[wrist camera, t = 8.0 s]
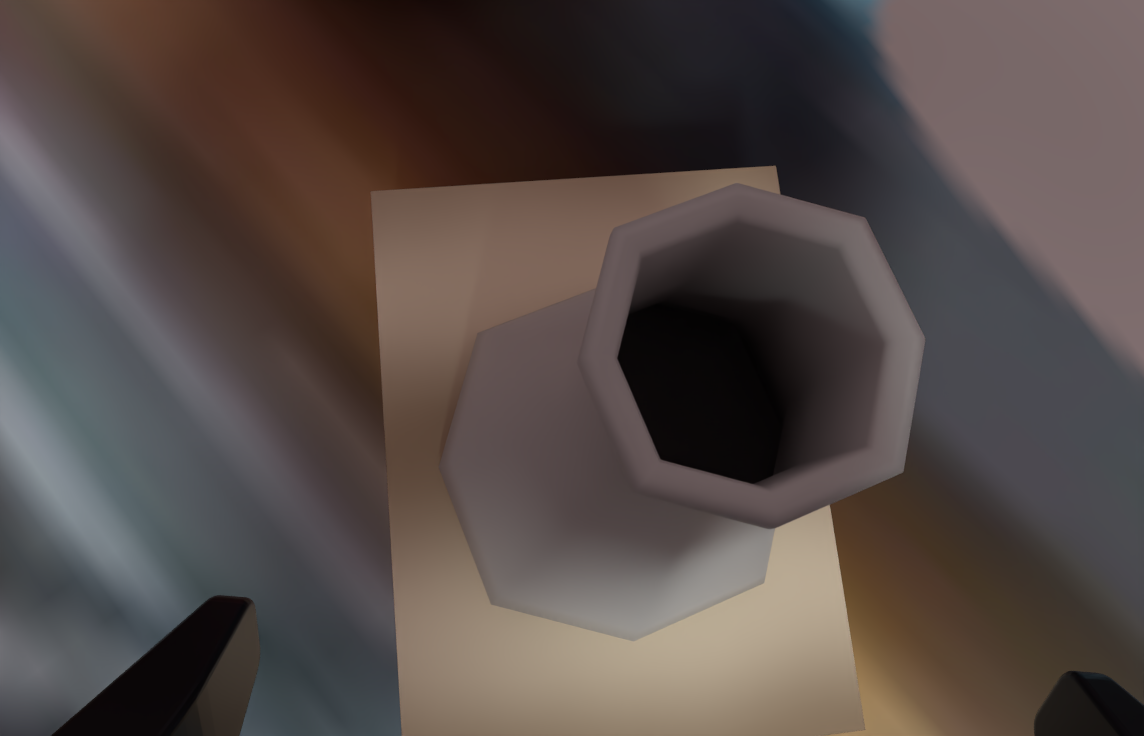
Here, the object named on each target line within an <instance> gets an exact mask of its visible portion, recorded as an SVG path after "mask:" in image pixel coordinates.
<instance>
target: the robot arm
mask: <svg viewBox="0 0 1144 736" xmlns="http://www.w3.org/2000/svg"><path fill="white" fill-rule="evenodd" d="M259 660H260V643H259V634H258V626H257V617H256V609H255V605H254V603H253V601H252V600H251V599H249V598H246V597H235V596H224V595H217V596H214V597H211V598H210V599H208V600H207V601H205V602H204V603H203V604H202V605H201V606H200V607H199V608H197V609H196V610H195V611H194V612H193V613H192V614H191V615H189V616H188V617H187V618H186V619H185V620H184V621H182V622H181V623H180V624H179V625H178V626H177V627H176V628H174V629H173V630H172V631H171V632H170V633H169V634H167V635H166V636H165V637H164V638H163V639H162V640H161V641H159V642H158V643H157V644H156V645H155V646H154V647H153V648H151V649H150V650H149V651H148V652H147V653H146V654H144V655H143V656H142V657H141V658H140V659H139V660H138V661H136V662H135V663H134V664H133V665H132V666H131V667H129V668H128V669H127V670H126V671H125V672H124V673H123V674H121V675H120V676H119V677H118V678H117V679H116V680H115V681H113V682H112V683H111V684H110V685H109V686H108V687H106V688H105V689H104V690H103V691H102V692H101V693H100V694H98V695H97V696H96V697H95V698H94V699H93V700H92V701H90V702H89V703H88V704H87V705H86V706H85V707H83V708H82V709H81V710H80V711H79V712H78V713H77V714H75V715H74V716H73V717H72V718H71V719H70V720H68V721H67V722H66V723H65V724H64V725H63V726H62V727H60V728H59V729H58V730H57V731H56V732H55V733H54V734H52V735H51V736H239V735H240V731H241V728H242V724H243V720H244V717H245V713H246V710H247V706H248V703H249V699H250V696H251V692H252V688H253V685H254V681H255V678H256V674H257V670H258V666H259ZM1034 734H1035V736H1144V705H1143V704H1142V703H1141V702H1139V701H1138V700H1137V699H1136V698H1135V697H1133V696H1132V695H1131V694H1130V693H1128V692H1127V691H1126V690H1125V689H1124V688H1122V687H1121V686H1120V685H1119V684H1118V683H1116V682H1115V681H1114V680H1112V679H1111V678H1110V677H1108V676H1106V675H1103V674H1099V673H1091V672H1080V671H1068V672H1066V673H1064V674H1063V675H1062V676H1061V677H1060V678H1059V680H1058V681H1057V683H1056V684H1055V686H1054V687H1053V689H1052V690H1051V692H1050V693H1049V695H1048V696H1047V698H1046V699H1045V701H1044V702H1043V704H1042V705H1041V707H1040V708H1039V710H1038V712H1037V714H1036V716H1035V720H1034Z"/></svg>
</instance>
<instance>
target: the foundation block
mask: <svg viewBox="0 0 1144 736" xmlns="http://www.w3.org/2000/svg"><path fill="white" fill-rule="evenodd" d="M734 183H740V184H743V185H747V186H751V187H754V188H758V189H762V190H765V191H769V192H773V193H776V194H780V189H779V183H778V176H777V170H776V166H764V167H748V168H732V169H716V170H700V171H684V172H668V173H653V174H637V175H621V176H605V177H589V178H573V179H557V180H541V181H525V182H509V183H493V184H477V185H461V186H445V187H430V188H414V189H398V190H382V191H371V205H372V222H373V240H374V257H375V275H376V292H377V310H378V327H379V345H380V362H381V380H382V397H383V415H384V432H385V450H386V467H387V485H388V502H389V520H390V537H391V555H392V572H393V590H394V608H395V625H396V643H397V660H398V678H399V695H400V713H401V730H402V736H823V735H831V734H839V733H846V732H854V731H862V730H865V724H864V718H863V712H862V705H861V699H860V693H859V686H858V680H857V674H856V668H855V661H854V655H853V649H852V642H851V636H850V630H849V623H848V617H847V611H846V605H845V598H844V592H843V586H842V579H841V573H840V567H839V560H838V554H837V548H836V542H835V535H834V529H833V523H832V516H831V510H830V505H827V506H825V507H823V508H821V509H818V510H816V511H814V512H812V513H809V514H807V515H805V516H802V517H800V518H798V519H796V520H793V521H791V522H789V523H786V524H784V525H782V526H780V527H777V528H775V531H774V536H773V541H772V546H771V551H770V556H769V561H768V567H767V572H766V577H765V582H764V583H763V584H761V585H759V586H756V587H754V588H752V589H750V590H747V591H745V592H743V593H741V594H739V595H736V596H734V597H732V598H730V599H727V600H725V601H723V602H721V603H718V604H716V605H714V606H712V607H710V608H707V609H705V610H703V611H701V612H698V613H696V614H694V615H692V616H689V617H687V618H685V619H683V620H681V621H678V622H676V623H674V624H672V625H669V626H667V627H665V628H663V629H660V630H658V631H656V632H654V633H652V634H649V635H647V636H645V637H643V638H640V639H638V640H636V641H634V642H633V641H630V640H626V639H622V638H618V637H614V636H610V635H607V634H603V633H599V632H595V631H591V630H587V629H584V628H580V627H576V626H572V625H568V624H564V623H560V622H557V621H553V620H549V619H545V618H541V617H537V616H534V615H530V614H526V613H522V612H518V611H514V610H510V609H507V608H503V607H499V606H495V605H491V603H490V600H489V597H488V595H487V592H486V590H485V587H484V584H483V582H482V579H481V577H480V574H479V571H478V569H477V566H476V564H475V561H474V558H473V556H472V553H471V551H470V548H469V545H468V543H467V540H466V537H465V535H464V532H463V530H462V527H461V524H460V522H459V519H458V517H457V514H456V511H455V509H454V506H453V504H452V501H451V498H450V496H449V493H448V491H447V488H446V485H445V483H444V480H443V477H442V475H441V472H440V470H439V464H440V461H441V457H442V454H443V450H444V447H445V443H446V440H447V437H448V433H449V430H450V426H451V423H452V419H453V416H454V412H455V409H456V406H457V402H458V399H459V395H460V392H461V388H462V385H463V381H464V378H465V375H466V371H467V368H468V364H469V361H470V357H471V354H472V350H473V347H474V344H475V340H476V337H477V333H479V332H481V331H484V330H487V329H489V328H492V327H495V326H497V325H500V324H502V323H505V322H508V321H510V320H513V319H516V318H518V317H521V316H524V315H526V314H529V313H532V312H534V311H537V310H539V309H542V308H545V307H547V306H550V305H553V304H555V303H558V302H561V301H563V300H566V299H569V298H571V297H574V296H576V295H579V294H582V293H584V292H587V291H590V290H592V289H595V288H596V287H597V283H598V279H599V275H600V271H601V268H602V264H603V260H604V256H605V252H606V248H607V245H608V241H609V237H610V234H611V232H612V230H613V229H614V228H615V227H618V226H620V225H623V224H626V223H629V222H631V221H634V220H637V219H639V218H642V217H645V216H648V215H650V214H653V213H656V212H658V211H661V210H664V209H667V208H669V207H672V206H675V205H677V204H680V203H683V202H686V201H688V200H691V199H694V198H696V197H699V196H702V195H705V194H707V193H710V192H713V191H715V190H718V189H721V188H724V187H726V186H729V185H732V184H734Z"/></svg>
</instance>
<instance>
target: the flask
mask: <svg viewBox="0 0 1144 736" xmlns="http://www.w3.org/2000/svg"><path fill="white" fill-rule="evenodd" d="M924 345H925V337H924V335H923V333H922V331H921V329H920V327H919V325H918V323H917V321H916V319H915V317H914V315H913V313H912V311H911V309H910V307H909V305H908V303H907V301H906V299H905V297H904V295H903V293H902V291H901V289H900V287H899V285H898V282H897V280H896V278H895V276H894V274H893V272H892V270H891V268H890V266H889V264H888V262H887V260H886V258H885V256H884V254H883V252H882V250H881V248H880V246H879V244H878V242H877V240H876V238H875V236H874V234H873V232H872V230H871V228H870V226H869V224H868V222H867V220H866V218H864V217H861V216H857V215H853V214H850V213H846V212H842V211H839V210H835V209H831V208H828V207H824V206H820V205H817V204H813V203H809V202H806V201H802V200H798V199H795V198H791V197H787V196H784V195H780V194H776V193H773V192H769V191H765V190H762V189H758V188H754V187H751V186H747V185H743V184H740V183H734V184H732V185H729V186H726V187H724V188H721V189H718V190H715V191H713V192H710V193H707V194H705V195H702V196H699V197H696V198H694V199H691V200H688V201H686V202H683V203H680V204H677V205H675V206H672V207H669V208H667V209H664V210H661V211H658V212H656V213H653V214H650V215H648V216H645V217H642V218H639V219H637V220H634V221H631V222H629V223H626V224H623V225H620V226H618V227H615V228H614V229H613V230H612V232H611V234H610V237H609V241H608V245H607V248H606V252H605V256H604V260H603V264H602V268H601V271H600V275H599V279H598V283H597V287H596V288H595V289H592V290H590V291H587V292H584V293H582V294H579V295H576V296H574V297H571V298H569V299H566V300H563V301H561V302H558V303H555V304H553V305H550V306H547V307H545V308H542V309H539V310H537V311H534V312H532V313H529V314H526V315H524V316H521V317H518V318H516V319H513V320H510V321H508V322H505V323H502V324H500V325H497V326H495V327H492V328H489V329H487V330H484V331H481V332H479V333H477V337H476V340H475V344H474V347H473V350H472V354H471V357H470V361H469V364H468V368H467V371H466V375H465V378H464V381H463V385H462V388H461V392H460V395H459V399H458V402H457V406H456V409H455V412H454V416H453V419H452V423H451V426H450V430H449V433H448V437H447V440H446V443H445V447H444V450H443V454H442V457H441V461H440V464H439V470H440V472H441V475H442V477H443V480H444V483H445V485H446V488H447V491H448V493H449V496H450V498H451V501H452V504H453V506H454V509H455V511H456V514H457V517H458V519H459V522H460V524H461V527H462V530H463V532H464V535H465V537H466V540H467V543H468V545H469V548H470V551H471V553H472V556H473V558H474V561H475V564H476V566H477V569H478V571H479V574H480V577H481V579H482V582H483V584H484V587H485V590H486V592H487V595H488V597H489V600H490V603H491V605H495V606H499V607H503V608H507V609H510V610H514V611H518V612H522V613H526V614H530V615H534V616H537V617H541V618H545V619H549V620H553V621H557V622H560V623H564V624H568V625H572V626H576V627H580V628H584V629H587V630H591V631H595V632H599V633H603V634H607V635H610V636H614V637H618V638H622V639H626V640H630V641H633V642H634V641H636V640H638V639H640V638H643V637H645V636H647V635H649V634H652V633H654V632H656V631H658V630H660V629H663V628H665V627H667V626H669V625H672V624H674V623H676V622H678V621H681V620H683V619H685V618H687V617H689V616H692V615H694V614H696V613H698V612H701V611H703V610H705V609H707V608H710V607H712V606H714V605H716V604H718V603H721V602H723V601H725V600H727V599H730V598H732V597H734V596H736V595H739V594H741V593H743V592H745V591H747V590H750V589H752V588H754V587H756V586H759V585H761V584H763V583H764V582H765V577H766V572H767V567H768V561H769V556H770V551H771V546H772V541H773V536H774V531H775V528H777V527H780V526H782V525H784V524H786V523H789V522H791V521H793V520H796V519H798V518H800V517H802V516H805V515H807V514H809V513H812V512H814V511H816V510H818V509H821V508H823V507H825V506H827V505H830V504H832V503H834V502H837V501H839V500H841V499H843V498H846V497H848V496H850V495H853V494H855V493H857V492H859V491H862V490H864V489H866V488H869V487H871V486H873V485H875V484H878V483H880V482H882V481H884V480H887V479H889V478H891V477H894V476H896V475H898V474H900V473H903V470H904V464H905V458H906V452H907V446H908V440H909V434H910V428H911V422H912V416H913V411H914V405H915V399H916V393H917V387H918V381H919V375H920V369H921V363H922V357H923V351H924Z"/></svg>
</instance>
